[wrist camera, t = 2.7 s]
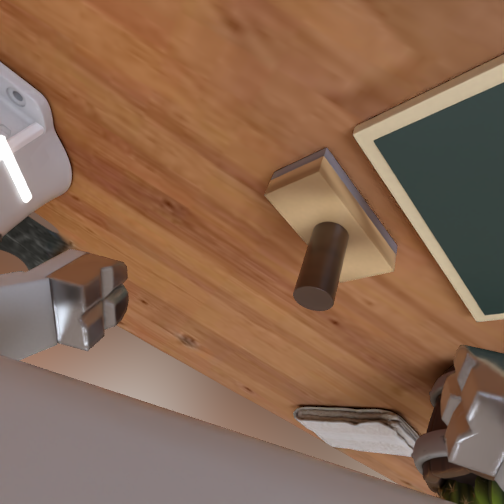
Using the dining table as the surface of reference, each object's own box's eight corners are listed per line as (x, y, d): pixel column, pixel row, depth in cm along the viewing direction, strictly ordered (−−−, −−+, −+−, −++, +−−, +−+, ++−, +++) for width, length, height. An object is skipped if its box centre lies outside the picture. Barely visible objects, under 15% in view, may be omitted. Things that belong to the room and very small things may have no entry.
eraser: (273, 172, 32) (236, 256, 27) (327, 146, 29) (295, 237, 24) (345, 259, 38) (325, 345, 32) (397, 245, 34) (385, 339, 29)
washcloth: (430, 442, 63) (429, 463, 61) (330, 434, 75) (327, 451, 73) (397, 407, 57) (395, 429, 56) (294, 403, 69) (289, 422, 67)
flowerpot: (537, 337, 37) (570, 616, 25) (596, 413, 43) (646, 668, 31) (393, 355, 47) (369, 560, 35) (458, 415, 53) (456, 608, 42)
